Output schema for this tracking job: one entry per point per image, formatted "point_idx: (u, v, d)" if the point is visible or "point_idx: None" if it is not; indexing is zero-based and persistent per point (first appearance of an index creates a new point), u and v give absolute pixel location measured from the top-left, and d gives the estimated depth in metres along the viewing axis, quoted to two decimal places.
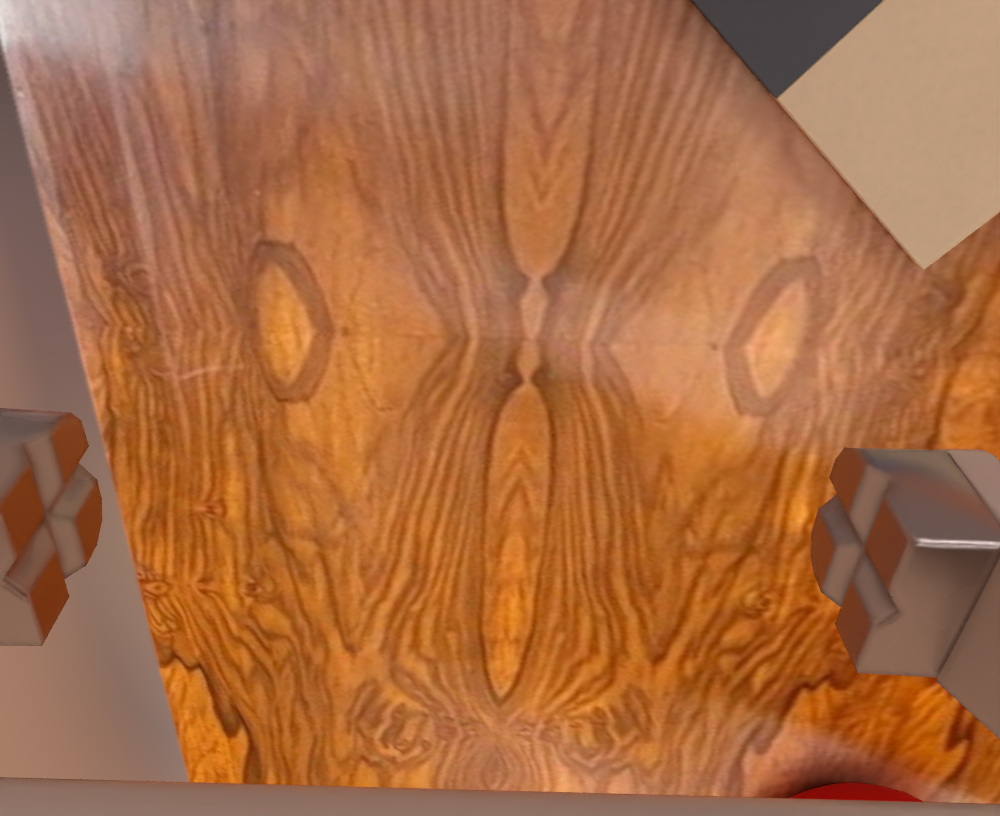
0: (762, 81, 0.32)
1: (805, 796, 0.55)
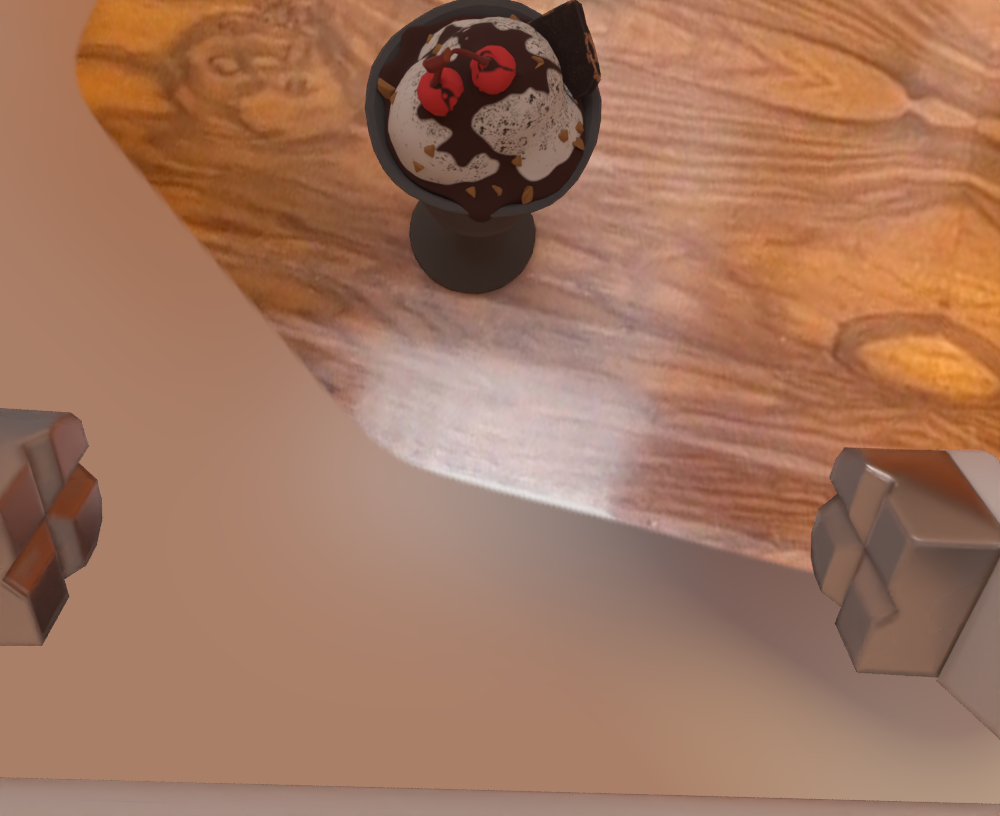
0: None
1: None
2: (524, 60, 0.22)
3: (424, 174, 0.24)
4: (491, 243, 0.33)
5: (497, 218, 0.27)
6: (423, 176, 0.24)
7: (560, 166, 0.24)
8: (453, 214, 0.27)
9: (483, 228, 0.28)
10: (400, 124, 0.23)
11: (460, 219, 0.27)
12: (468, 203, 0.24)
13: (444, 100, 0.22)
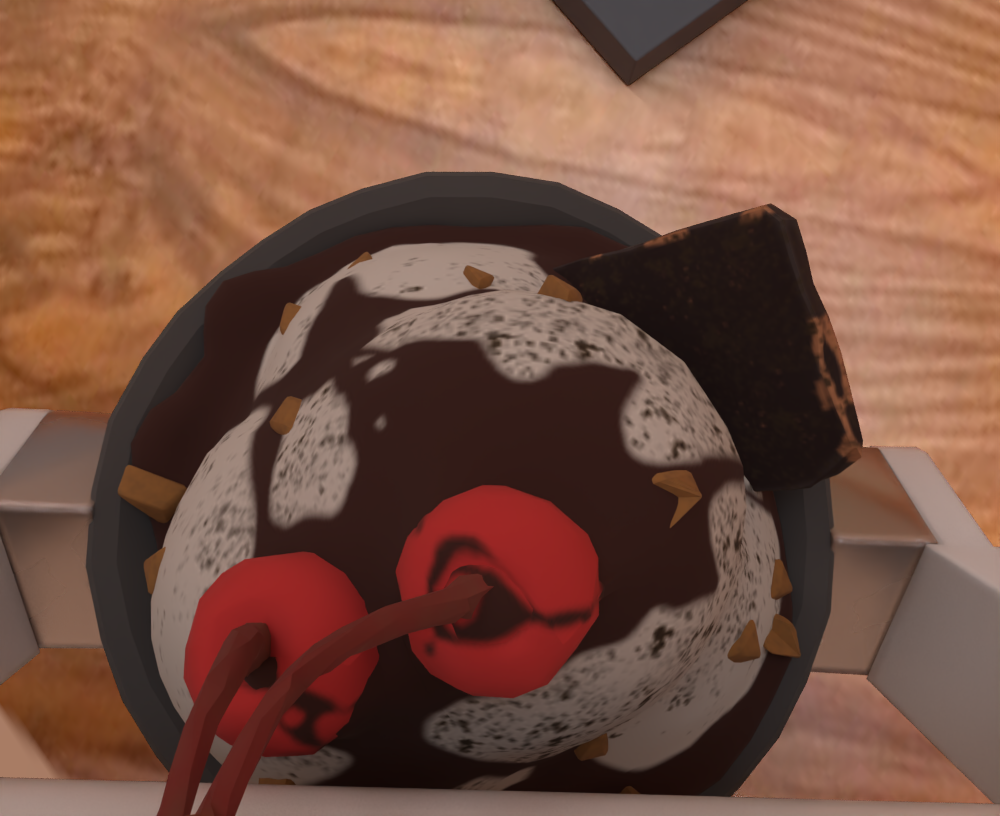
0: None
1: None
2: (626, 507, 0.05)
3: None
4: None
5: None
6: None
7: (729, 718, 0.07)
8: None
9: None
10: (173, 684, 0.06)
11: None
12: None
13: (294, 727, 0.05)
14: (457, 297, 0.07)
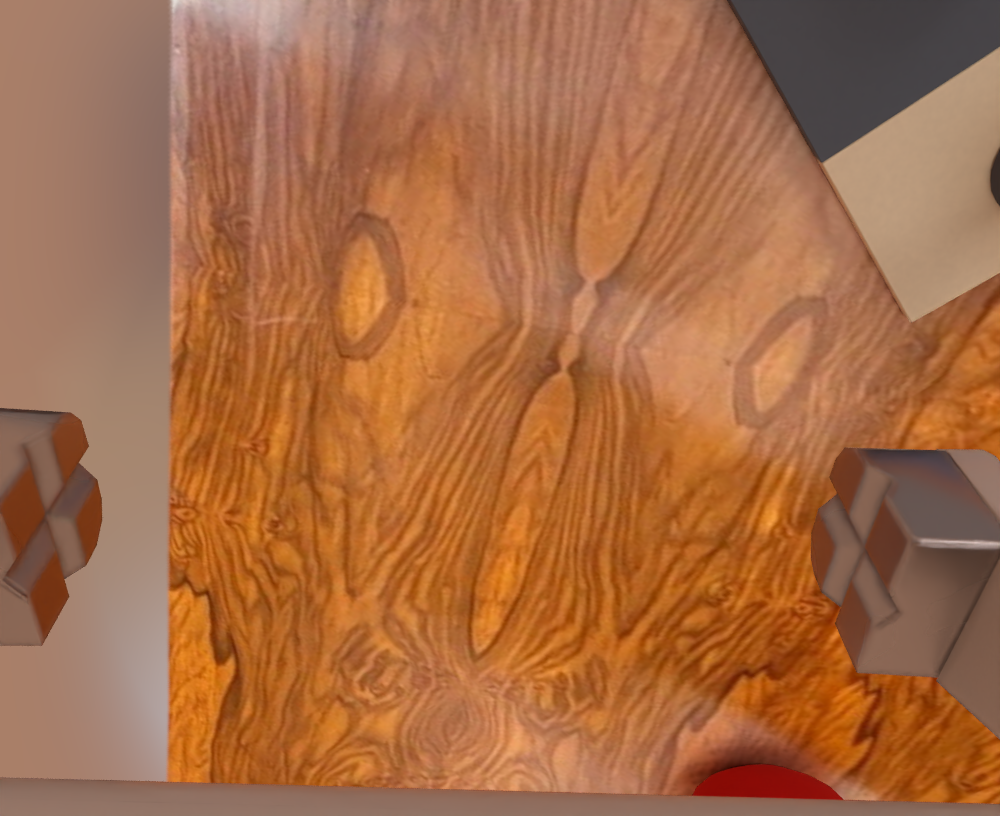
0: (813, 147, 0.38)
1: (729, 772, 0.62)
2: None
3: None
4: None
5: None
6: None
7: None
8: None
9: None
10: None
11: None
12: None
13: None
14: None
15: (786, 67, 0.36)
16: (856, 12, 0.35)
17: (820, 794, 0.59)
